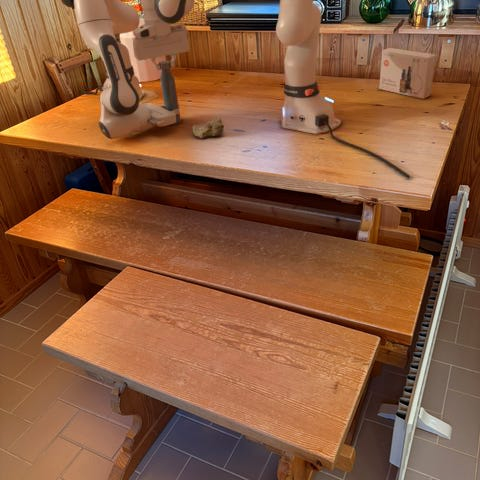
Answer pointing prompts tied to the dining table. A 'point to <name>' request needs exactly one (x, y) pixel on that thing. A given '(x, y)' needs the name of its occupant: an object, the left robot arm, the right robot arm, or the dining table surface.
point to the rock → (209, 128)
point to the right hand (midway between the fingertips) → (165, 68)
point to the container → (143, 67)
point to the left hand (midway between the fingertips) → (174, 108)
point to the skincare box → (407, 72)
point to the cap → (165, 64)
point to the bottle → (169, 92)
